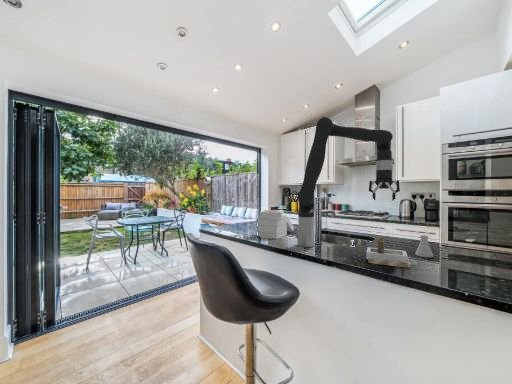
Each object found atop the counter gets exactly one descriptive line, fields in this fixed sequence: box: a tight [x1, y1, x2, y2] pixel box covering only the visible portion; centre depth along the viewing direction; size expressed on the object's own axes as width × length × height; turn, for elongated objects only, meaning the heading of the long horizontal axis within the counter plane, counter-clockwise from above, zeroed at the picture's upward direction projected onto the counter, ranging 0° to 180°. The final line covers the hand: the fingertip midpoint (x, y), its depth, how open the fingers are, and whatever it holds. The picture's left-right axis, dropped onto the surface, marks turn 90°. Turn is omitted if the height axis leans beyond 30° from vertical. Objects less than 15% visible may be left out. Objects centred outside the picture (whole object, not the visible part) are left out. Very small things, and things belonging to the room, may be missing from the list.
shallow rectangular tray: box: [365, 246, 409, 263], centre depth 109 cm, size 16×10×3 cm, turn 62°
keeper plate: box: [367, 236, 411, 269], centre depth 108 cm, size 16×12×11 cm
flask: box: [414, 234, 434, 258], centre depth 117 cm, size 7×7×10 cm
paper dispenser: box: [257, 209, 295, 240], centre depth 174 cm, size 19×30×18 cm, turn 146°
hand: (383, 200), depth 125 cm, fingers open, 8 cm apart
